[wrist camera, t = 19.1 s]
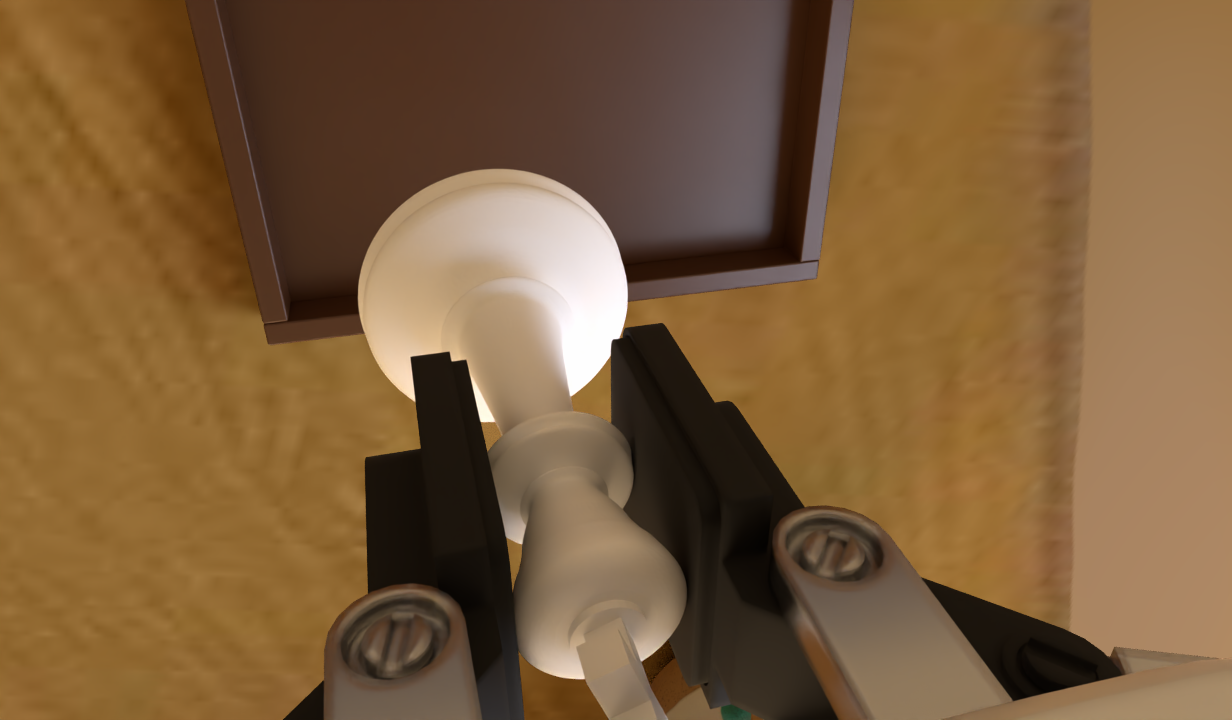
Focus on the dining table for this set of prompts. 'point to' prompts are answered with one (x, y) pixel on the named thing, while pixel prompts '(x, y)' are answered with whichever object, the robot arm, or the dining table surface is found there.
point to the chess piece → (535, 408)
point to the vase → (688, 698)
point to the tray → (525, 130)
